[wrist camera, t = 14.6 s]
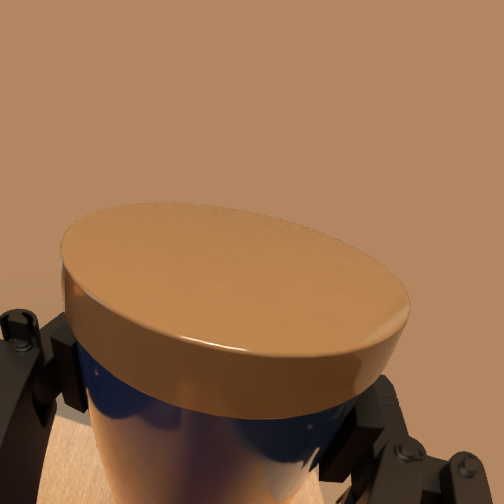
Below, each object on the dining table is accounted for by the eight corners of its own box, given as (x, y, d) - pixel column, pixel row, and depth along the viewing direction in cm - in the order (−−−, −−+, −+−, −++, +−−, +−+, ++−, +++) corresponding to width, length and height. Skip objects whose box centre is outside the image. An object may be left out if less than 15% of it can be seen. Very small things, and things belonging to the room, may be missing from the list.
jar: (271, 576, 7) (474, 389, 3) (81, 520, 7) (-22, 256, 4) (286, 447, 14) (369, 240, 10) (145, 409, 14) (157, 192, 11)
